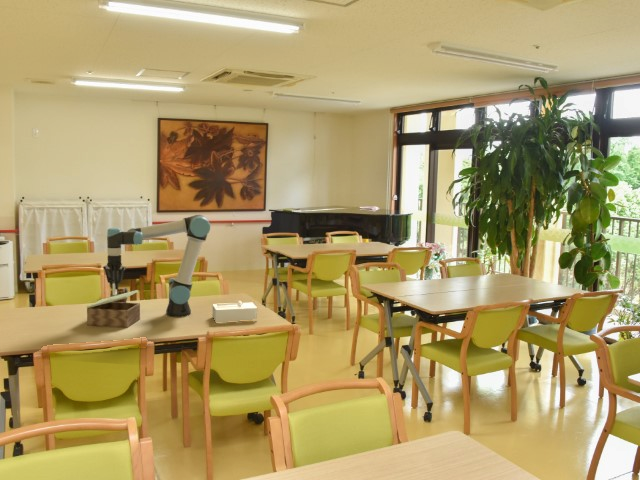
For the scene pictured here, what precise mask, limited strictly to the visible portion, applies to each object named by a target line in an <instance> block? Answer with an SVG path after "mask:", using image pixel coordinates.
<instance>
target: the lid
mask: <svg viewBox="0 0 640 480" xmlns="http://www.w3.org/2000/svg"><path fill="white" fill-rule="evenodd" d="M138 292H139V290H138V289H136V290H131V291H128V293H124V294H120V295H116V296H113V297H110V296H109V297H106V298H102V299H99V300H97V301H95V302H93V303H91V304H89V305H87V306H86V309H87V308H90V307H94V306H98V305H101V304H105V303H109V302H113V301H117V300H120V299H124V298H127V299H128V297H129V298H130V296H132V295H135V294H136V293H138Z"/></svg>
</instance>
